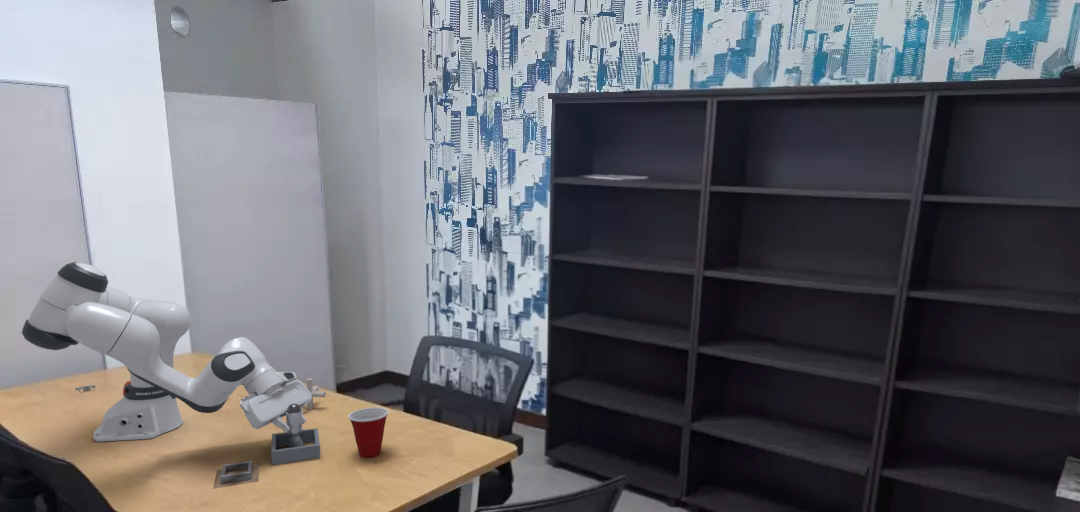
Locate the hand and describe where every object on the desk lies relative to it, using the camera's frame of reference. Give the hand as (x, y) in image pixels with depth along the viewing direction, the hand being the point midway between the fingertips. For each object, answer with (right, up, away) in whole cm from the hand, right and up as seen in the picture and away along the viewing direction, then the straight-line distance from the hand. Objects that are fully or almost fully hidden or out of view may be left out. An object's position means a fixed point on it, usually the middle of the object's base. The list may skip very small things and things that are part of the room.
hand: (296, 427), depth 170 cm
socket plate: (-10, -10, -12) cm, 19 cm away
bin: (-1, -8, +2) cm, 9 cm away
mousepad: (-97, -1, +49) cm, 108 cm away
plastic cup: (+19, -9, +4) cm, 21 cm away
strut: (-1, -5, +1) cm, 6 cm away
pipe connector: (-9, -4, +36) cm, 37 cm away
